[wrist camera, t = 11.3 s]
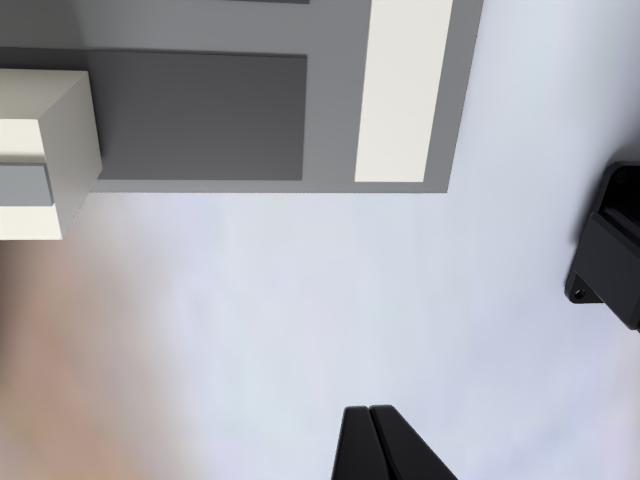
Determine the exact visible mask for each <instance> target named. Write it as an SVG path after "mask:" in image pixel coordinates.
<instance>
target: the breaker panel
mask: <svg viewBox="0 0 640 480" xmlns="http://www.w3.org/2000/svg"><path fill="white" fill-rule="evenodd" d="M483 1H484V0H0V69H33V70H67V71H88V76H89V83H90V89H91V96H92V102H93V109H94V116H95V122H96V129H97V135H98V142H99V149H100V155H101V162H102V168H103V169H102V171H101V172H100V174H99V176H98V178H97V179H96V181H95V183H94V185H93V186H92V188H91V190H90V192H146V193H447V190H448V184H449V179H450V174H451V169H452V163H453V158H454V153H455V148H456V142H457V137H458V132H459V127H460V121H461V116H462V111H463V106H464V100H465V95H466V90H467V85H468V79H469V74H470V69H471V64H472V58H473V53H474V48H475V43H476V37H477V32H478V27H479V22H480V16H481V11H482V6H483Z"/></svg>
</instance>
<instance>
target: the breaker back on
mask: <svg viewBox="0 0 640 480" xmlns="http://www.w3.org/2000/svg"><path fill="white" fill-rule="evenodd" d="M102 169H103V168H102V162H101V155H100V149H99V142H98V135H97V129H96V122H95V116H94V109H93V102H92V96H91V89H90V83H89V76H88V71H67V70H33V69H0V240H53V239H63V237H64V235H65V234H66V232H67V230H68V228H69V227H70V225H71V223H72V221H73V220H74V218H75V216H76V214H77V213H78V211H79V209H80V207H81V206H82V204H83V202H84V200H85V199H86V197H87V195H88V193H89V192H90V190H91V188H92V186H93V185H94V183H95V181H96V179H97V178H98V176H99V174H100V172H101V171H102Z"/></svg>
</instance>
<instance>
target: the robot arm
mask: <svg viewBox="0 0 640 480" xmlns="http://www.w3.org/2000/svg"><path fill="white" fill-rule="evenodd" d="M621 172H622V175H621V176H620V177H619V178H618V179H616V177H617V175H618V174H619V173H621ZM578 290H580V291H579V292H578V293H576V292H577V291H578ZM564 293H565V296H566V297H567V298H568V299H569V300H570V301H571V302H572V303H575V304H584V303H605V304H606V305H607V306H608V307H609V308H610V309H611V310H612V312H613V313H614V314H615V315H616V316H617V317H618V318H619V319H620V320H621V321H622V322H623V323H624V324H625V325H626V327H627V328H629V329H630V330H637V331H638V332H639V333H640V162H622V161H620V162H615V163H613V164H612V165H610V166H609V167H608V168H607V169H606V171H605V173H604V176H603V179H602V182H601V185H600V187H599V190H598V193H597V196H596V199H595V202H594V205H593V208H592V211H591V214H590V217H589V218H588V221H587V224H586V227H585V230H584V233H583V236H582V239H581V242H580V245H579V248H578V250H577V253H576V256H575V259H574V262H573V265H572V269H571V272H570V275H569V278H568V281H567V284H566V287H565V291H564ZM331 480H458V479H457V478H456V477H455V475H454V474H453V473H452V472H451V471H450V470H449V469H448V468H447V466H446V465H445V464H444V463H443V462H442V461H441V460H440V458H439V457H438V456H437V455H436V454H435V453H434V452H433V451H432V449H431V448H430V447H429V446H428V445H427V444H426V443H425V441H424V440H423V439H422V438H421V437H420V436H419V435H418V434H417V432H416V431H415V430H414V429H413V428H412V427H411V426H410V424H409V423H408V422H407V421H406V420H405V419H404V418H403V417H402V415H401V414H400V413H399V412H398V411H397V410H396V409H395V408H394V407H393V406H392V405H372V406H370V407H369V408H368V407H366V406H348V407H346V408H345V409H344V413H343V418H342V424H341V429H340V434H339V440H338V445H337V450H336V455H335V461H334V466H333V471H332V477H331Z"/></svg>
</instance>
